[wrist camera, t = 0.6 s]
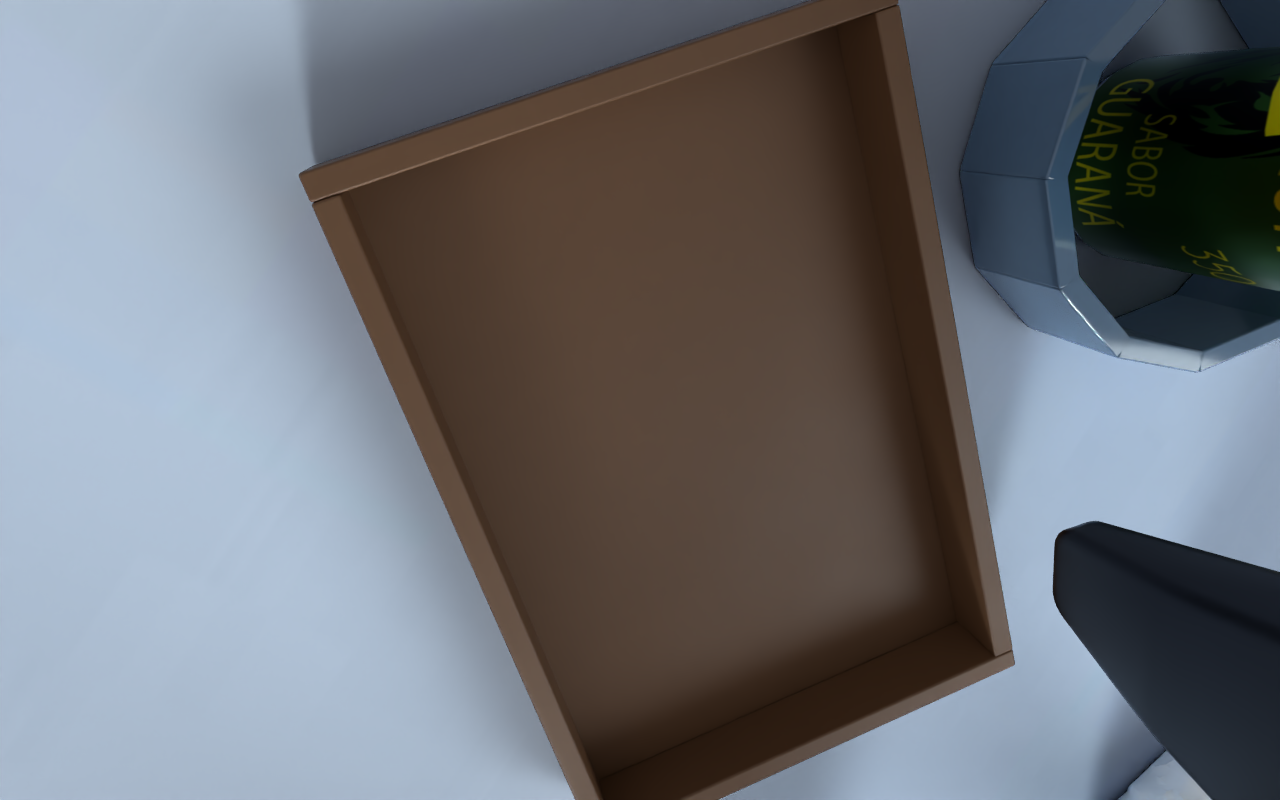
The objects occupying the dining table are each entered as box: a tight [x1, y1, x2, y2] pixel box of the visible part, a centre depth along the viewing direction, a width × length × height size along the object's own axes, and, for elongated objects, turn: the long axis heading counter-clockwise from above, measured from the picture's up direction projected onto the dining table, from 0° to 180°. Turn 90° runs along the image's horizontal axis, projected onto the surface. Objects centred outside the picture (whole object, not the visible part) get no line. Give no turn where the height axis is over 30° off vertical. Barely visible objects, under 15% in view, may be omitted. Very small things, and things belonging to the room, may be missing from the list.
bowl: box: [960, 0, 1280, 373], centre depth 23 cm, size 10×10×4 cm
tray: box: [299, 0, 1015, 800], centre depth 23 cm, size 19×13×3 cm
